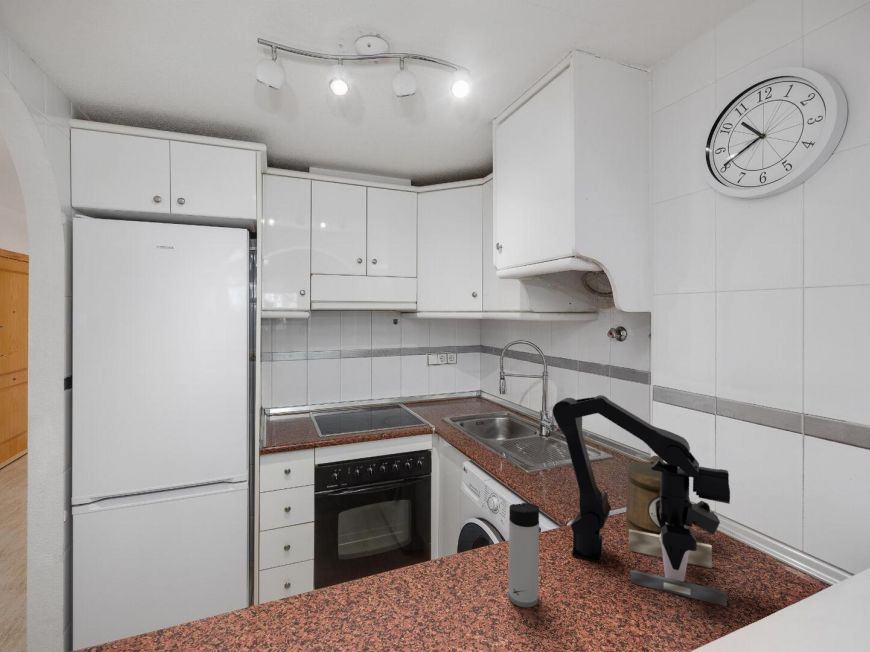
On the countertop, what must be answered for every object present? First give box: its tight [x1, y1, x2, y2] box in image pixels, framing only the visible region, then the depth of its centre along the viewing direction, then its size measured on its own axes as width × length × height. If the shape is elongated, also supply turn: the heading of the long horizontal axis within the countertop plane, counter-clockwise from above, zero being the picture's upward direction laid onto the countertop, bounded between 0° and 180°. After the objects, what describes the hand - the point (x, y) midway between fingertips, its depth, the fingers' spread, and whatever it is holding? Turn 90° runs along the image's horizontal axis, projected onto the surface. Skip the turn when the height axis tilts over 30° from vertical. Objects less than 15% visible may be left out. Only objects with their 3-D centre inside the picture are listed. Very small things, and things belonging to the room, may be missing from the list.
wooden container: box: [625, 455, 688, 535], centre depth 113 cm, size 15×15×22 cm
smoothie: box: [659, 533, 689, 582], centre depth 93 cm, size 6×6×14 cm
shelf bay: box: [628, 529, 728, 607], centre depth 95 cm, size 18×16×5 cm
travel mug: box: [507, 502, 540, 608], centre depth 86 cm, size 6×7×20 cm
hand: (673, 559), depth 93 cm, fingers closed on smoothie, 8 cm apart
